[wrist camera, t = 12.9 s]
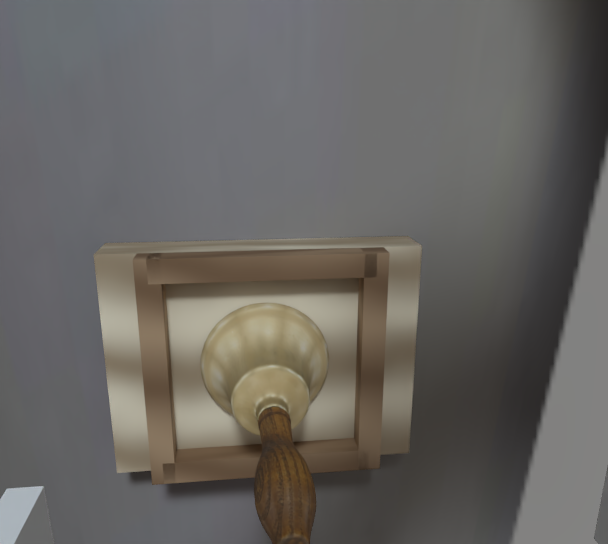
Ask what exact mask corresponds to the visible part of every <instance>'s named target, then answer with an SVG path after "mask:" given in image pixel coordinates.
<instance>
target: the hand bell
mask: <svg viewBox="0 0 608 544" xmlns="http://www.w3.org/2000/svg"><path fill="white" fill-rule="evenodd" d="M328 366H329V353H328V347H327V343H326V341H325V338H324V336H323V334H322V332H321V331H320V329H319V328H318V326H317V325H316V324H315V323H314V322H313V321H312V320H311V319H310V318H309V317H308V316H307V315H305V314H304V313H302V312H300V311H299V310H297V309H295V308H292V307H290V306H286V305H283V304H278V303H257V304H251V305H247V306H244V307H242V308H239V309H237V310H235V311H233V312H231V313H230V314H228V315H227V316H225V317H224V318H223V319H222V320H220V321H219V322H218V323H217V324H216V326H215V327H214V328H213V329H212V330H211V332H210V333H209V335H208V337H207V339H206V341H205V343H204V346H203V350H202V354H201V365H200V368H201V375H202V379H203V382H204V384H205V387H206V389H207V391H208V393H209V394H210V396H211V397H212V398H213V400H214V401H215V402H216V403H217V404H218V405H219V406H220V407H222V408H223V409H224V410H226V411H227V412H229V413H231V414H233V415H234V417H235V418H236V420H237V422H238V423H239V424H240V425H241V426H242V427H243V428H244V429H245V430H247V431H249V432H250V433H253V434H255V435H259V436H260V437H261V442H262V454H261V456H260V459H259V461H258V464H257V468H256V473H255V482H254V495H255V505H256V510H257V514H258V517H259V519H260V521H261V524H262V526H263V528H264V529H265V531H266V533H267V534H268V536H269V538H270V539H271V541H272V543H273V544H310V535H311V530H312V526H313V522H314V517H315V512H316V494H315V488H314V483H313V479H312V476H311V473H310V470H309V468H308V466H307V463H306V461H305V460H304V458H303V457H302V455H301V454H300V453H299V451H298V450H297V449H296V448H295V446H294V444H293V439H292V429H294V428H295V427H296V426H297V425H298V424H299V423H300V422H301V421H302V420H303V419H304V417H305V415H306V413H307V411H308V408H309V404H310V402H311V401H312V400H313V399H314V398H315V397H316V395H317V394H318V393H319V391H320V390H321V388H322V386H323V384H324V382H325V379H326V376H327V372H328Z"/></svg>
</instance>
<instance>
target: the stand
mask: <svg viewBox="0 0 608 544" xmlns="http://www.w3.org/2000/svg"><path fill="white" fill-rule="evenodd" d="M421 254H422V246H421V245H420V244H418V243H417V242H416V241H414V240H413V239H411V238H410V237H408V236H390V237H348V238H305V239H262V240H220V241H177V242H134V243H105V244H104V245H103V246H102V247H101V248H100V249H99V250H98V251H97V252H96V253H95V254H94V262H95V271H96V281H97V290H98V299H99V308H100V318H101V327H102V336H103V346H104V355H105V364H106V374H107V383H108V392H109V401H110V411H111V420H112V429H113V439H114V448H115V457H116V466H117V473H124V472H138V471H151V476H152V485H156V484H170V483H184V482H197V481H211V480H225V479H239V478H253V477H255V473H256V468H257V464H258V461H259V459H260V456H261V454H262V442H261V437H260V436H259V435H255V434H253V433H250V432H249V431H247V430H245V429H244V428H243V427H242V426H241V425H240V424H239V423H238V422H237V420H236V418H235V417H234V415H233V414H231V413H229V412H227V411H226V410H224V409H223V408H222V407H220V406H219V405H218V404H217V403H216V402H215V401H214V400H213V398H212V397H211V396H210V394H209V393H208V391H207V389H206V387H205V384H204V382H203V379H202V375H201V368H200V365H201V354H202V350H203V346H204V343H205V341H206V339H207V337H208V335H209V333H210V332H211V330H212V329H213V328H214V327H215V326H216V324H217V323H218V322H219V321H220V320H222V319H223V318H224V317H225V316H227V315H228V314H230V313H231V312H233V311H235V310H237V309H239V308H242V307H244V306H247V305H251V304H257V303H278V304H283V305H286V306H290V307H292V308H295V309H297V310H299V311H300V312H302V313H304V314H305V315H307V316H308V317H309V318H310V319H311V320H312V321H313V322H314V323H315V324H316V325H317V326H318V328H319V329H320V331H321V332H322V334H323V336H324V338H325V341H326V343H327V347H328V353H329V366H328V372H327V376H326V379H325V382H324V384H323V386H322V388H321V390H320V391H319V393H318V394H317V395H316V397H315V398H314V399H313V400H312V401H311V402H310V404H309V408H308V411H307V413H306V415H305V417H304V419H303V420H302V421H301V422H300V423H299V424H298V425H297V426H296V427H295V428H294V429H292V439H293V444H294V446H295V448H296V449H297V450H298V451H299V453H300V454H301V455H302V457H303V458H304V460H305V461H306V463H307V466H308V468H309V470H310V473H323V472H337V471H351V470H365V469H379V468H380V455H386V454H400V453H409V445H410V429H411V413H412V397H413V382H414V366H415V350H416V334H417V318H418V302H419V286H420V270H421Z"/></svg>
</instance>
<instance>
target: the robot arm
mask: <svg viewBox="0 0 608 544" xmlns="http://www.w3.org/2000/svg"><path fill="white" fill-rule="evenodd" d="M594 539H595V540H596V541H597V543H598V544H608V468H607V473H606V478H605V483H604V488H603V493H602V499H601V504H600V509H599V514H598V519H597V525H596V530H595V536H594ZM0 544H54V540H53V534H52V529H51V523H50V518H49V512H48V506H47V501H46V495H45V490H44V486H38V487H24V488H10V489H7V490H6V491H5V493H4V494H3V496H2V498H1V499H0Z"/></svg>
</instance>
